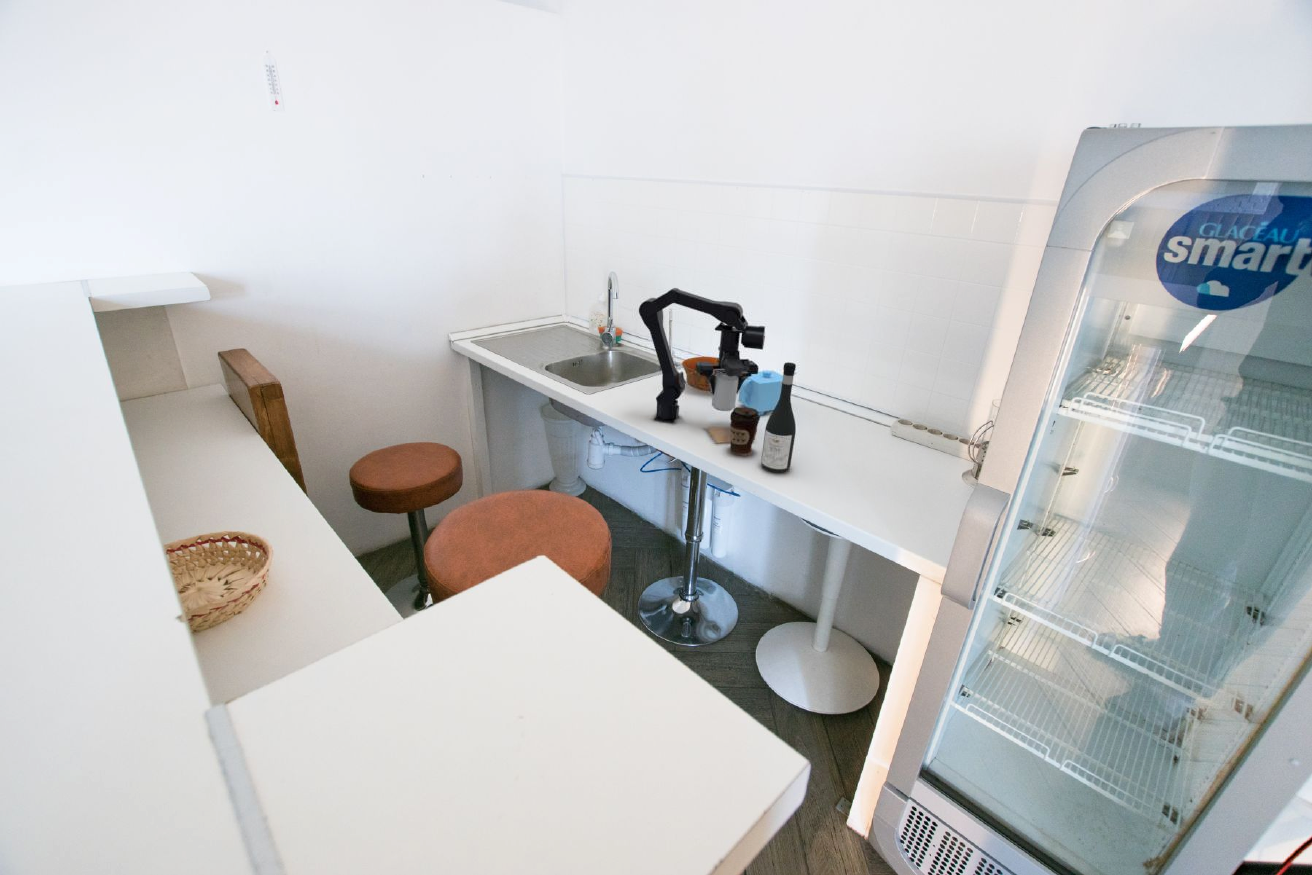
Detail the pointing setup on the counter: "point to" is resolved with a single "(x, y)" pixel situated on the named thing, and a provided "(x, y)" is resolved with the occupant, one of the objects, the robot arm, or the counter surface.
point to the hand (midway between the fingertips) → (724, 394)
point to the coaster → (720, 434)
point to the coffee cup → (743, 429)
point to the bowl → (693, 376)
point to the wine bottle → (780, 428)
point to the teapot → (761, 391)
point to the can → (724, 391)
